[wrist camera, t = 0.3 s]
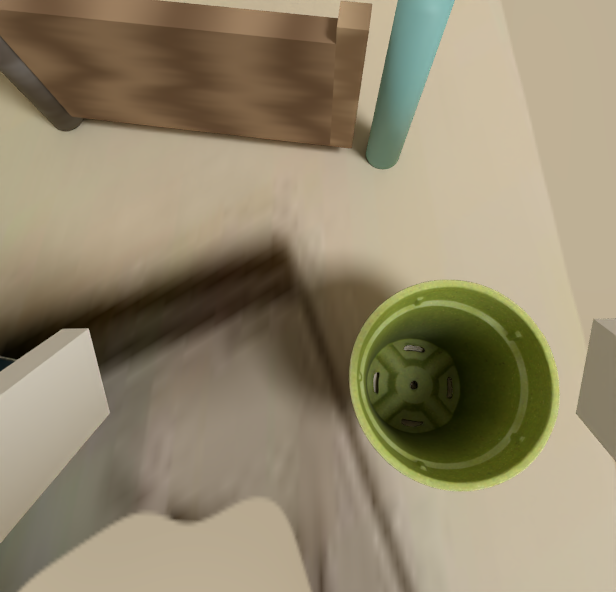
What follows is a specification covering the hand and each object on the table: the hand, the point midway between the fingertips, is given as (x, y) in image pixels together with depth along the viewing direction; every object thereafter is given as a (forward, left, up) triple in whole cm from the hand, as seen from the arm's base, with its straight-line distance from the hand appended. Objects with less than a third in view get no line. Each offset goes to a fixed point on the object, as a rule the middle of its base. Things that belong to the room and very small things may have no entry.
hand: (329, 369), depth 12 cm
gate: (+17, +11, -17) cm, 26 cm away
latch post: (+17, -2, -17) cm, 24 cm away
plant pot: (+1, -6, -17) cm, 18 cm away
